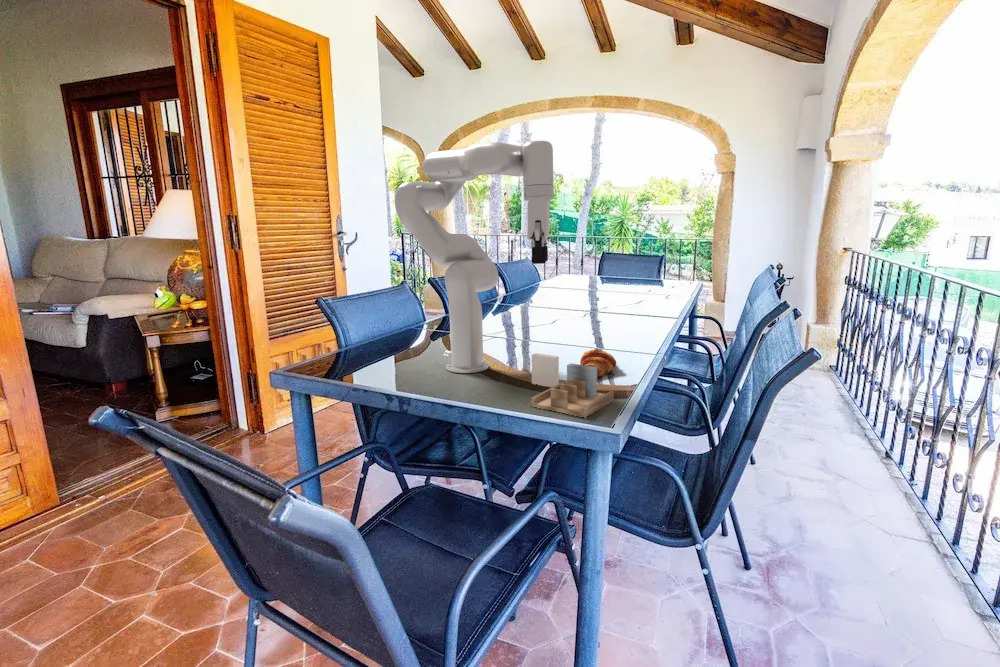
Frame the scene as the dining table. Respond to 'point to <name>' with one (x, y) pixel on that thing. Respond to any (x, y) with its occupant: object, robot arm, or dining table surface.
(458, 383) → the dining table surface
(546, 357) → the low beige gift box
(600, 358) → the croissant
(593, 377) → the dish rack
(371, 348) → the dining table surface
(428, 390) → the dining table surface
